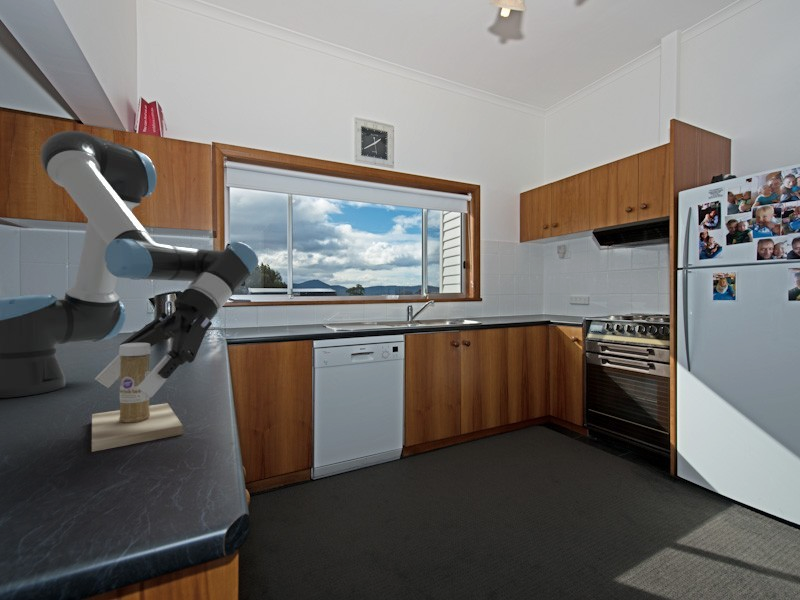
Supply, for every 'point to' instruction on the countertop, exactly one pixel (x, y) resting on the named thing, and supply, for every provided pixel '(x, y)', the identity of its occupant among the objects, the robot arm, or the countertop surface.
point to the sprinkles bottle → (133, 381)
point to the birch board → (133, 428)
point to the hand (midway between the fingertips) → (121, 388)
